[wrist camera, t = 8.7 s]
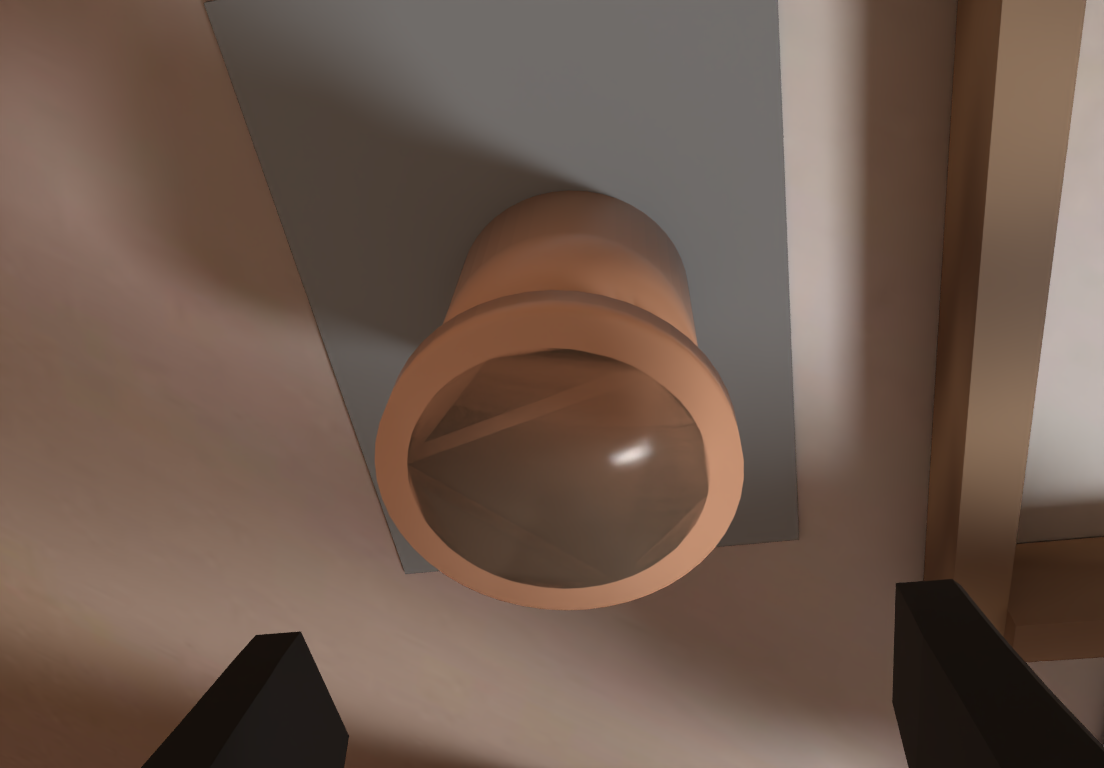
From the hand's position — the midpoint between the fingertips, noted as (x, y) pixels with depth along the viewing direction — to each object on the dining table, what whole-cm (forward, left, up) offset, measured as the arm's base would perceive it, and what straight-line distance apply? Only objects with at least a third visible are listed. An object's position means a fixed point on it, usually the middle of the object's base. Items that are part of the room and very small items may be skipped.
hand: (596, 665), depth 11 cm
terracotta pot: (0, +1, -9) cm, 9 cm away
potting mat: (0, +1, -9) cm, 9 cm away
